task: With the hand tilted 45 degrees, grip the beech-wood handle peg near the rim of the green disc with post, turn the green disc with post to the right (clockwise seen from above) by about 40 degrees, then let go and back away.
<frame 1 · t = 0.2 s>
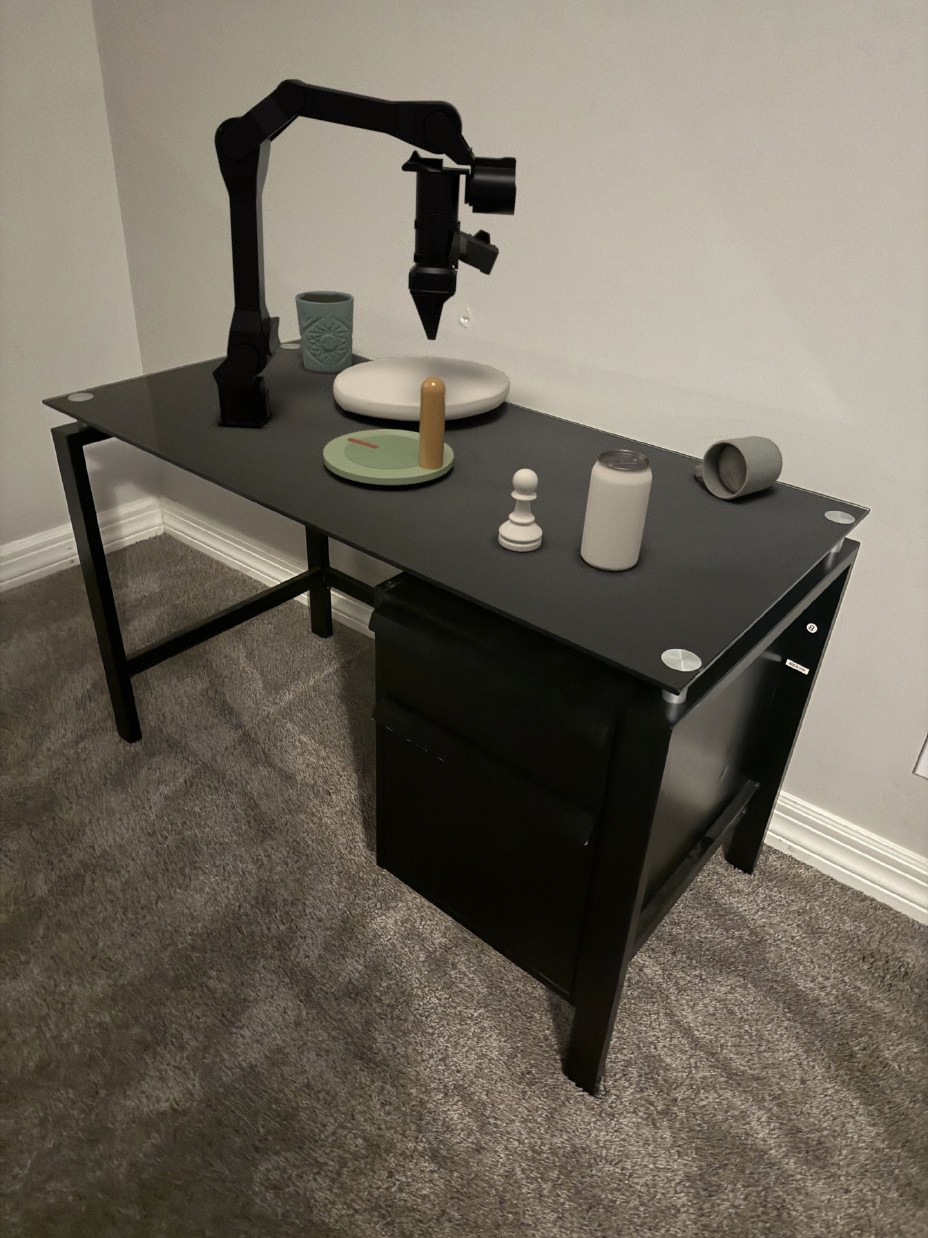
hand: (433, 331, 124), 15 cm above the table, tool pointing down, fingers open, 9 cm apart
green disc with post: (388, 413, 115), point 7 cm above the table, hinge at 0.0°
teal embossed cup: (327, 366, 157), on the table
chess pawn: (519, 544, 101), on the table
white round disc: (421, 406, 141), on the table
ceramic mug: (727, 490, 118), on the table
can: (608, 560, 99), on the table
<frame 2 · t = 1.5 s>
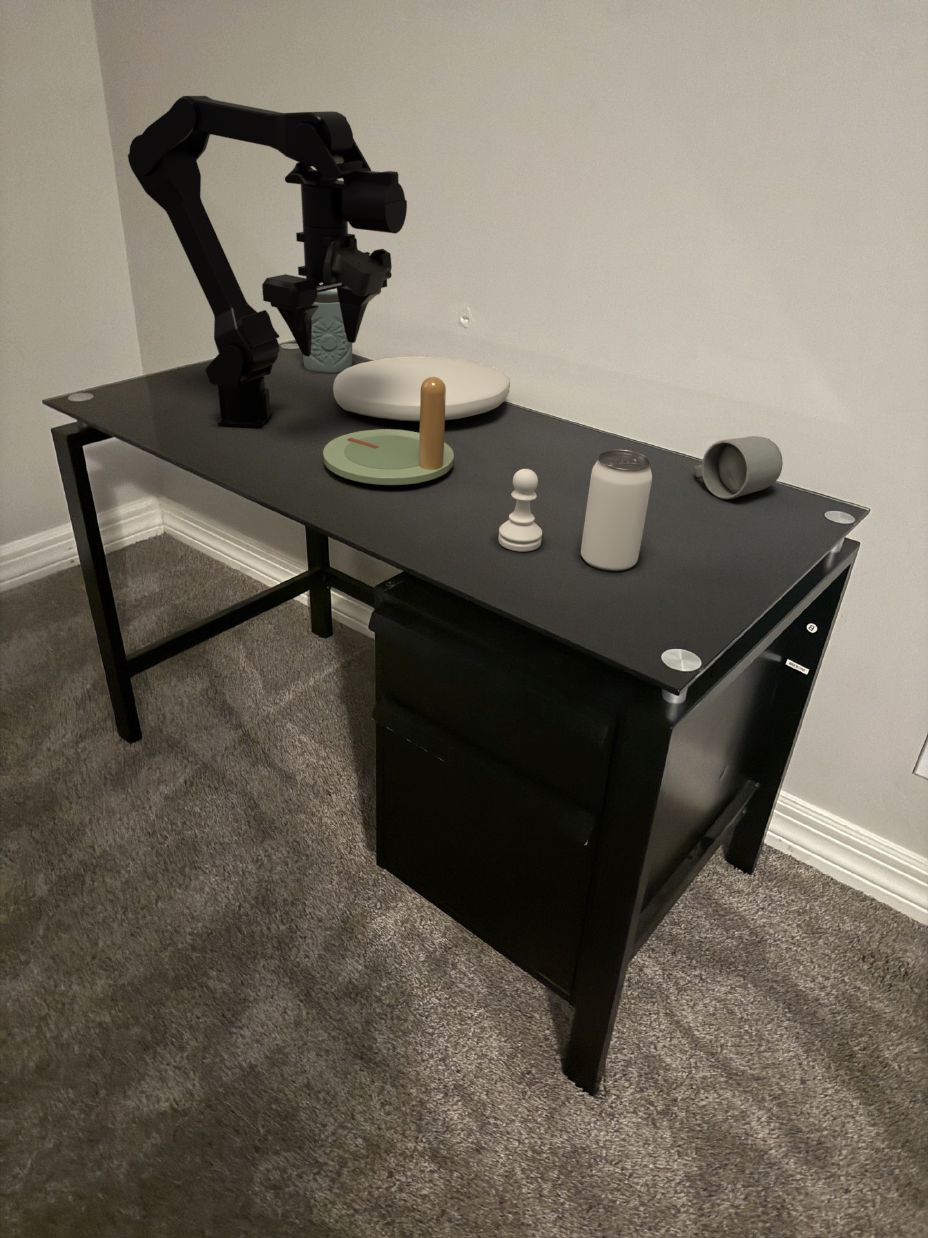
hand: (329, 348, 119), 13 cm above the table, tool pointing down, fingers open, 9 cm apart
nothing on the table moved.
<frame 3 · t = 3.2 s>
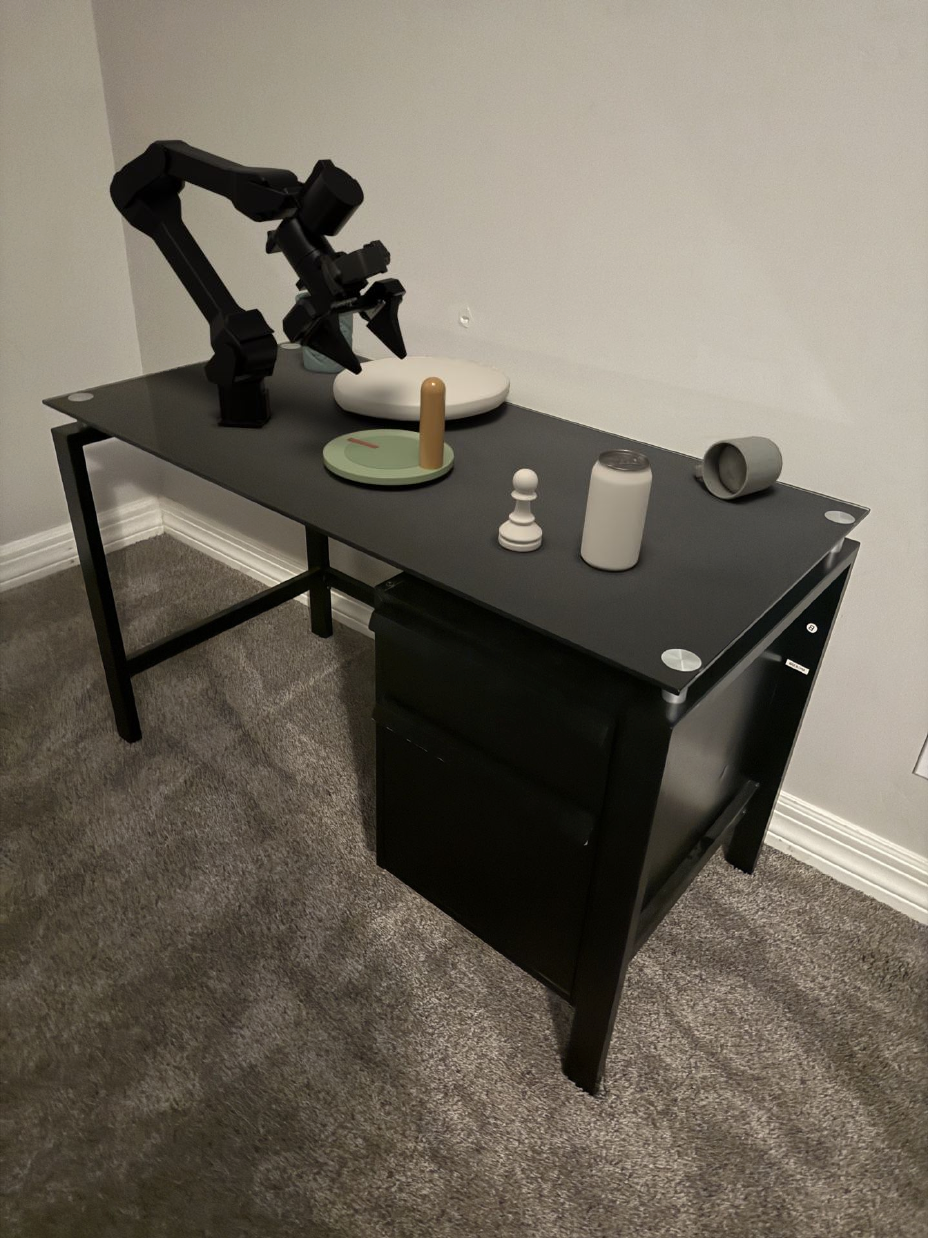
hand: (382, 364, 112), 14 cm above the table, tool tilted 45°, fingers open, 9 cm apart
nothing on the table moved.
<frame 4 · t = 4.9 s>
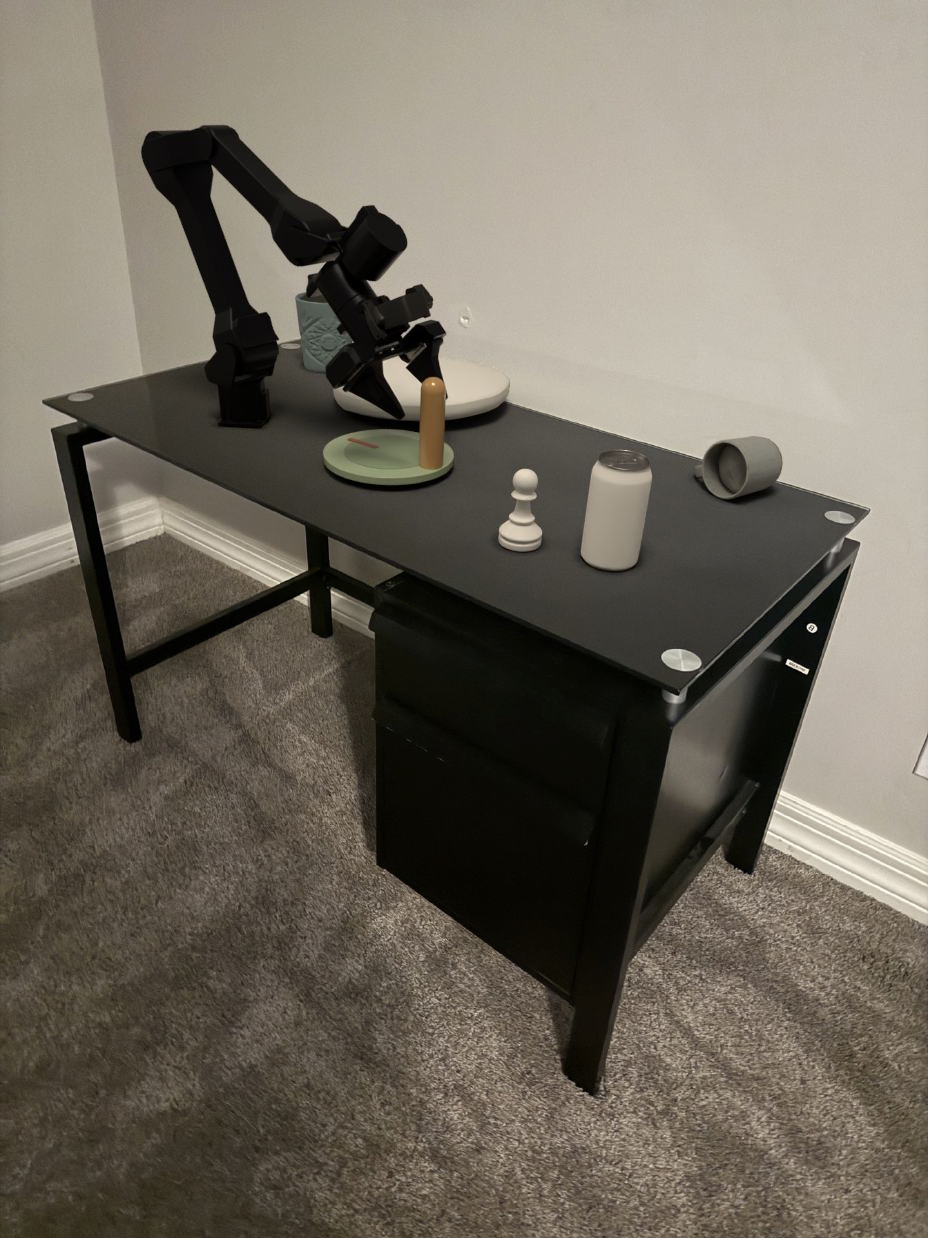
hand: (424, 408, 111), 9 cm above the table, tool tilted 45°, fingers open, 9 cm apart
nothing on the table moved.
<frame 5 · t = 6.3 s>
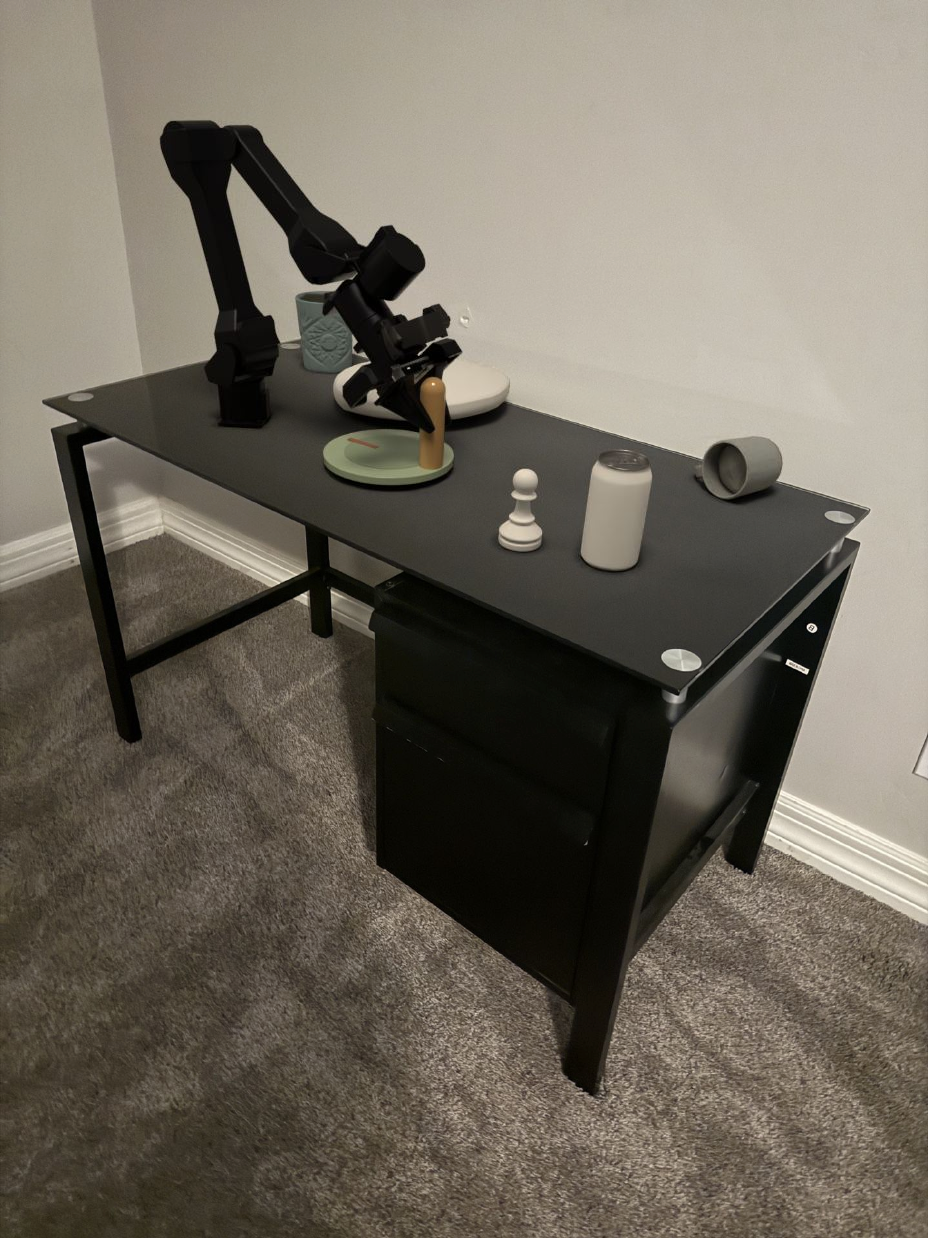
hand: (440, 428, 111), 7 cm above the table, tool tilted 45°, fingers closed on green disc with post, 3 cm apart
green disc with post: (388, 413, 115), point 7 cm above the table, hinge at 0.0°, touching gripper
everything else where it was.
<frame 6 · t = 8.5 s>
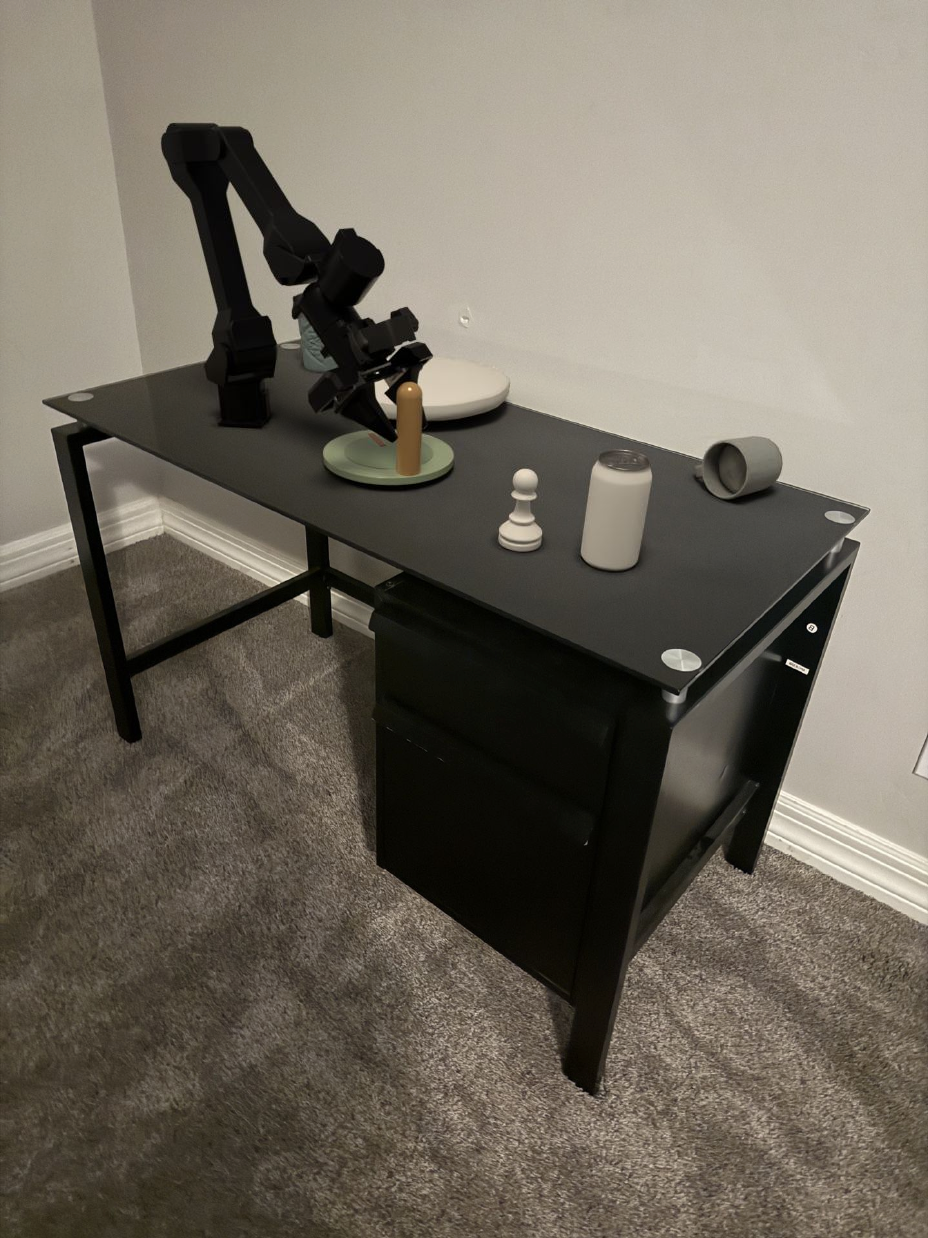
hand: (410, 433, 108), 7 cm above the table, tool tilted 45°, fingers open, 6 cm apart
green disc with post: (388, 413, 115), point 7 cm above the table, hinge at -30.8°
everything else where it was.
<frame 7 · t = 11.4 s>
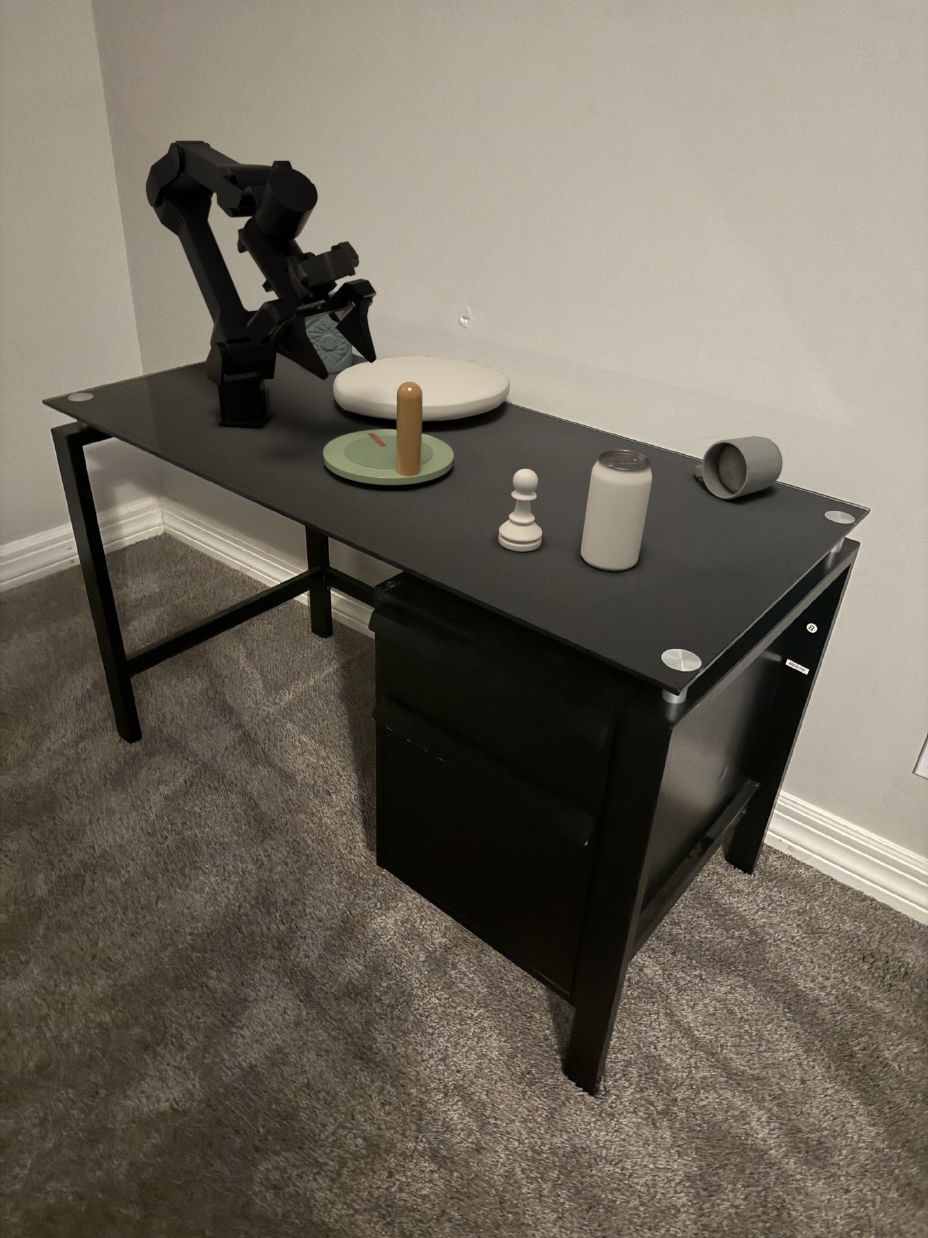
hand: (350, 369, 110), 13 cm above the table, tool tilted 45°, fingers open, 9 cm apart
nothing on the table moved.
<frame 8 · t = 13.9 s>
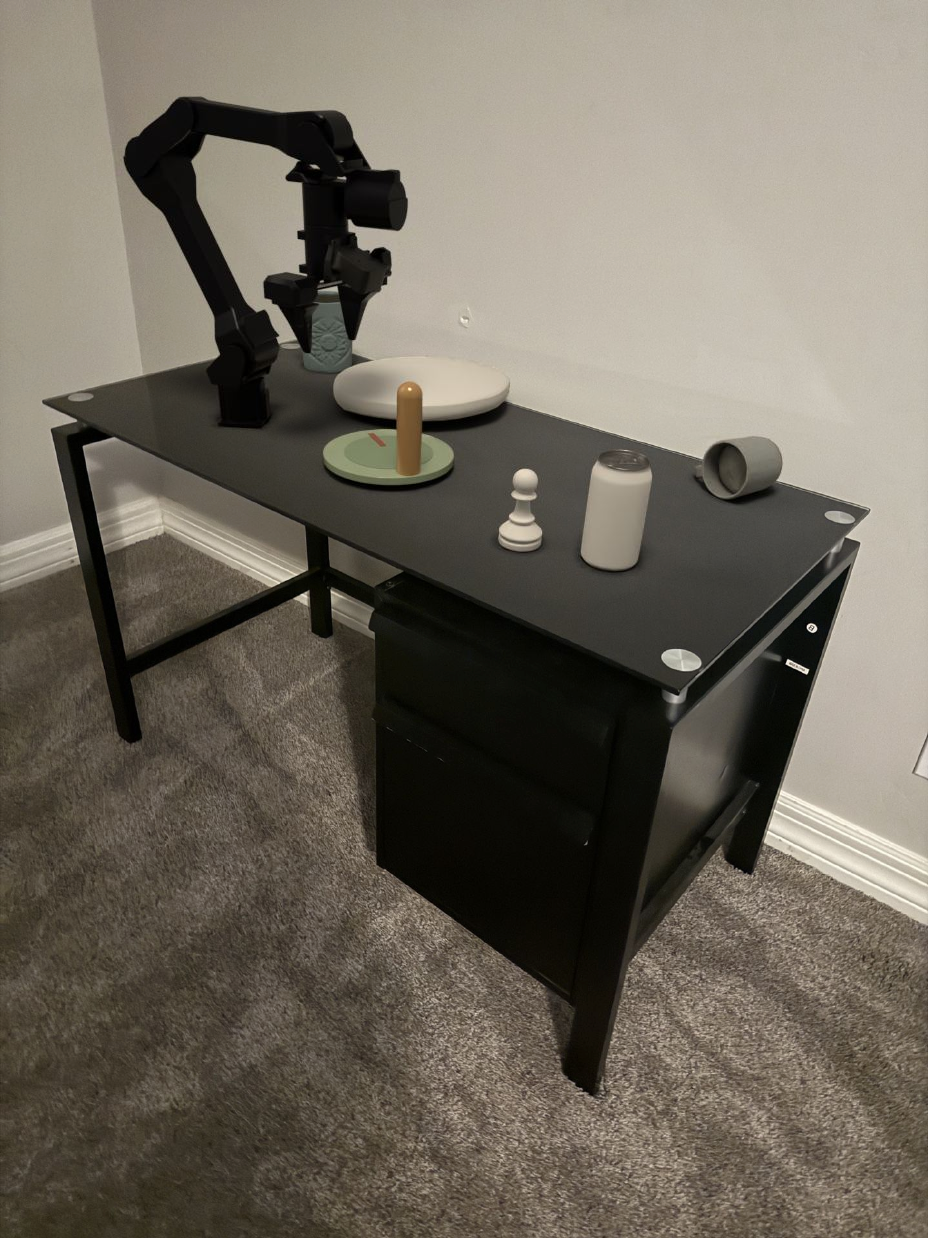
hand: (330, 346, 120), 13 cm above the table, tool pointing down, fingers open, 9 cm apart
nothing on the table moved.
at the end: green disc with post at -31° (first picture: +0°); the gripper is holding nothing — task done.
